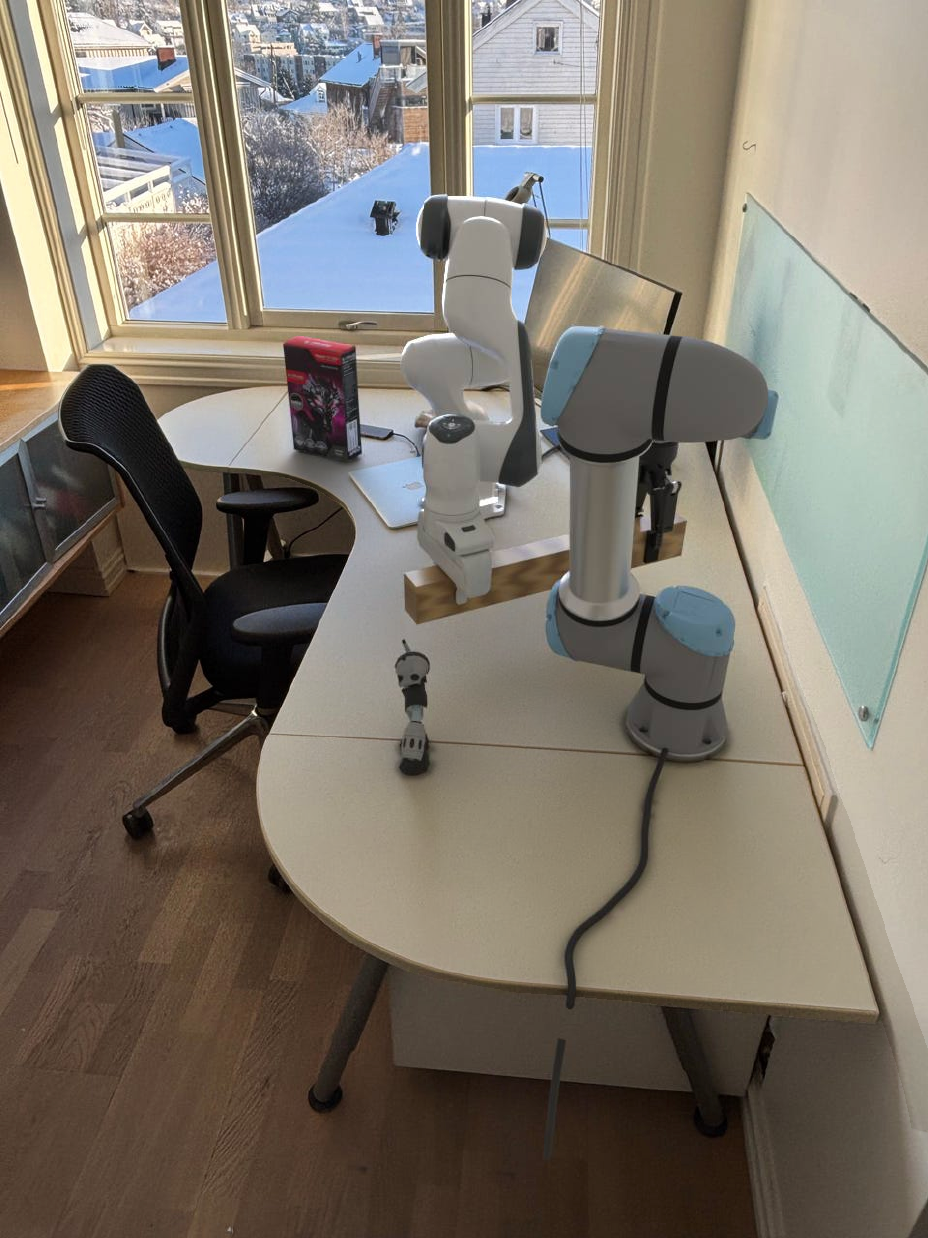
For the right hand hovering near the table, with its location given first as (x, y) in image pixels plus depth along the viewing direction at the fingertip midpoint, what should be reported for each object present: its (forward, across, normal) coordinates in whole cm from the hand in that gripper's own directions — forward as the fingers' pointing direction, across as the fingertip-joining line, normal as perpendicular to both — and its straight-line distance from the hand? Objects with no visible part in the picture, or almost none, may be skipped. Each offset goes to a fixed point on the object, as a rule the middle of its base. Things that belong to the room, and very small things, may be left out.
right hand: (641, 553), depth 169 cm
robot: (+10, +22, -56) cm, 61 cm away
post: (+1, 0, -20) cm, 20 cm away
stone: (+10, -84, +2) cm, 84 cm away
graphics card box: (+10, -89, -30) cm, 94 cm away
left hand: (-2, 0, -39) cm, 39 cm away
